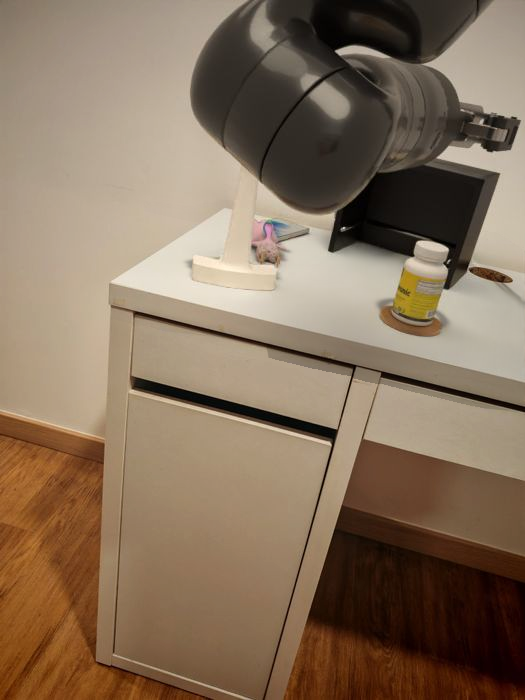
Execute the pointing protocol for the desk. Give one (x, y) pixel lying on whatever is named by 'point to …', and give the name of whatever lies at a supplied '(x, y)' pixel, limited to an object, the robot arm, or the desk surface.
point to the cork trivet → (407, 328)
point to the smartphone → (287, 229)
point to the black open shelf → (420, 212)
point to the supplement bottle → (421, 284)
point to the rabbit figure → (266, 242)
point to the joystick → (237, 247)
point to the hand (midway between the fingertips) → (447, 118)
